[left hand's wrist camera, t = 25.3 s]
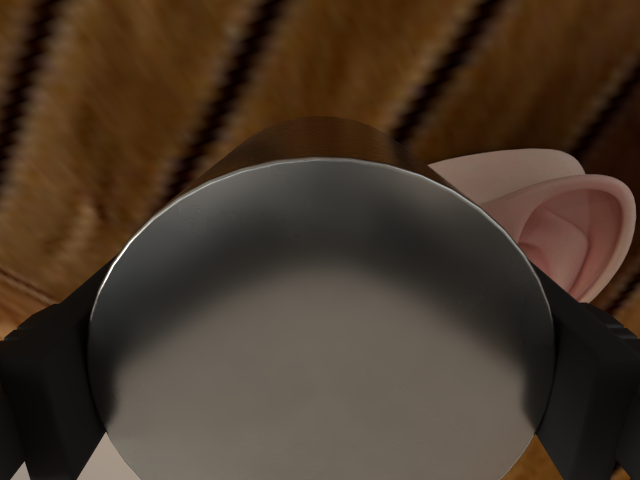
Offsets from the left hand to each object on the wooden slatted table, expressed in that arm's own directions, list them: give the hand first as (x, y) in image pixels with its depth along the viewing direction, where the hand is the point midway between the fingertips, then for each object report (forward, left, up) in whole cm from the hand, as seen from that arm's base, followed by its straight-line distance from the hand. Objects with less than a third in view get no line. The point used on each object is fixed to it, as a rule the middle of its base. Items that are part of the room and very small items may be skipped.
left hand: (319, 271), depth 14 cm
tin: (0, 0, -3) cm, 3 cm away
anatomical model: (-1, +9, -10) cm, 14 cm away
